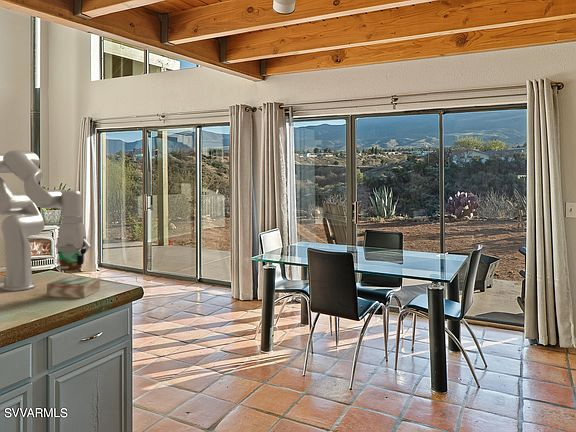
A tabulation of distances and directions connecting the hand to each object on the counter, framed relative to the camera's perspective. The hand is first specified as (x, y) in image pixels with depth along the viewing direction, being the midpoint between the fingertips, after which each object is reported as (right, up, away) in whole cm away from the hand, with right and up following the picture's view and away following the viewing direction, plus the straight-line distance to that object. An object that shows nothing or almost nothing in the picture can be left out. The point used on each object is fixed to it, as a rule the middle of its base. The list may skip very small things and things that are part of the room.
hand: (73, 263), depth 191 cm
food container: (+1, -2, 0) cm, 2 cm away
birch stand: (0, -12, +1) cm, 12 cm away
